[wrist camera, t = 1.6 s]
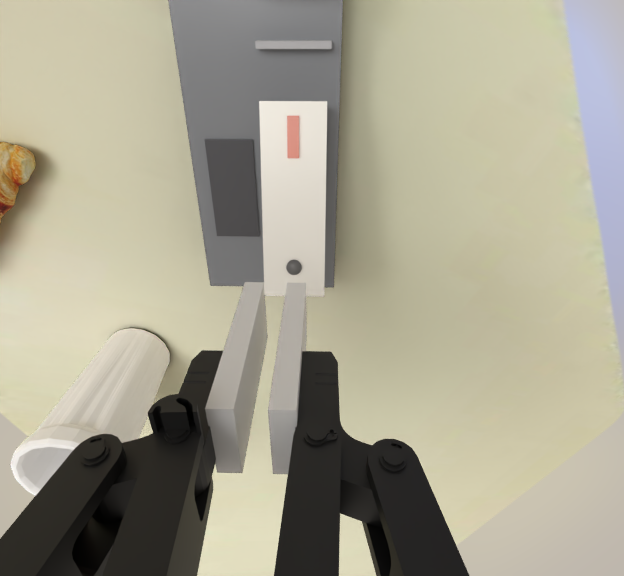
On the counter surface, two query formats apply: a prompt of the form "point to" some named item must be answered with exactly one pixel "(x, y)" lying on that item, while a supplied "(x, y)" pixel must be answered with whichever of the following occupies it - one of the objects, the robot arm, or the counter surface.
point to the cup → (96, 405)
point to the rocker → (293, 194)
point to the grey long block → (251, 112)
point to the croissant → (13, 173)
